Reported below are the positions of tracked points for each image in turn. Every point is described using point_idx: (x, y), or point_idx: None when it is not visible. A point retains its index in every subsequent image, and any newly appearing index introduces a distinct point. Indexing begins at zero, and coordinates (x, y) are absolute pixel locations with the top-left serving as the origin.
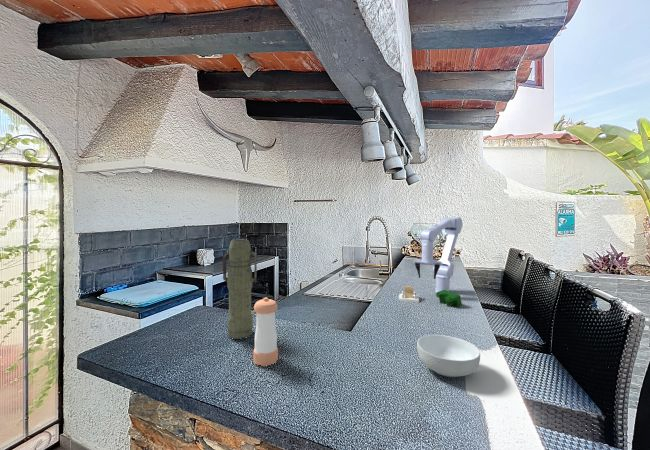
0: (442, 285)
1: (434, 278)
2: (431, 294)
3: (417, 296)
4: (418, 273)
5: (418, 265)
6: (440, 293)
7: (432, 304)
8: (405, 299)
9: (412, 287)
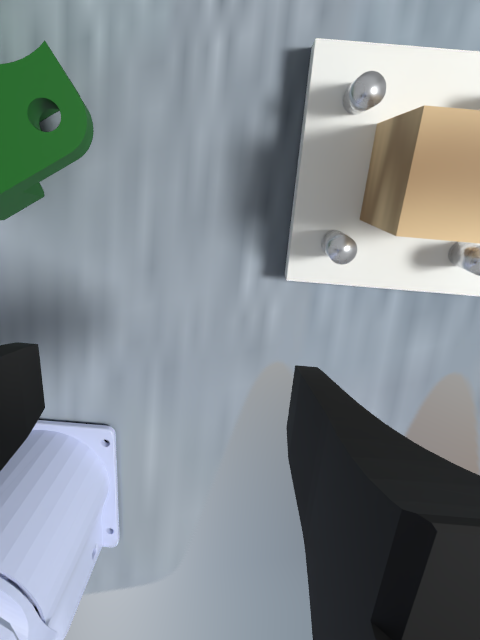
0: (12, 484)
1: (24, 344)
2: (152, 398)
3: (309, 213)
4: (351, 402)
5: (473, 580)
6: (21, 89)
7: (163, 5)
8: (475, 54)
9: (416, 179)
